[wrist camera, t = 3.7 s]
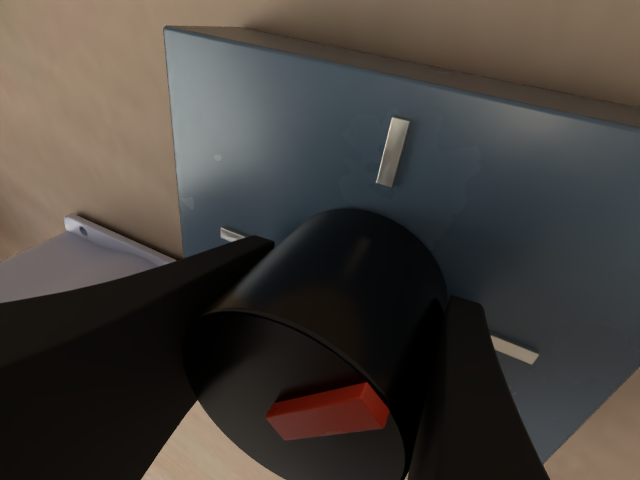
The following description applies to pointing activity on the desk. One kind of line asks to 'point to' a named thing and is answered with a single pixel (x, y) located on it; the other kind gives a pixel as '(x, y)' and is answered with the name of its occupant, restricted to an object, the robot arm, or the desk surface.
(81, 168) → the desk surface
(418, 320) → the dial
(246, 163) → the dial panel
